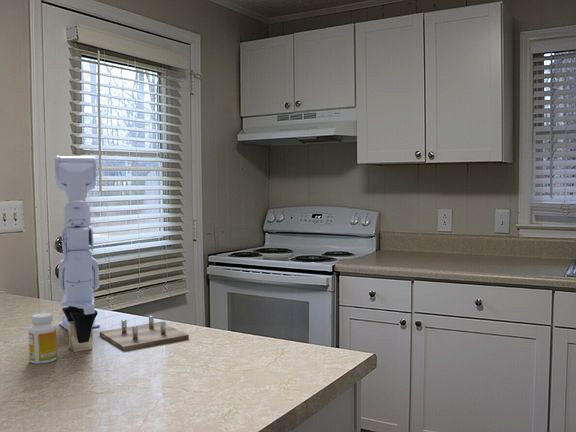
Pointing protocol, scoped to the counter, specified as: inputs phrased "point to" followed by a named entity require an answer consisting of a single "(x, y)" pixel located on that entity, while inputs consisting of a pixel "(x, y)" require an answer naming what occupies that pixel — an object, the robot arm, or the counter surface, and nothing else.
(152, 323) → the peg board
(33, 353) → the supplement bottle
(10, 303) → the counter surface
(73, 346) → the block
